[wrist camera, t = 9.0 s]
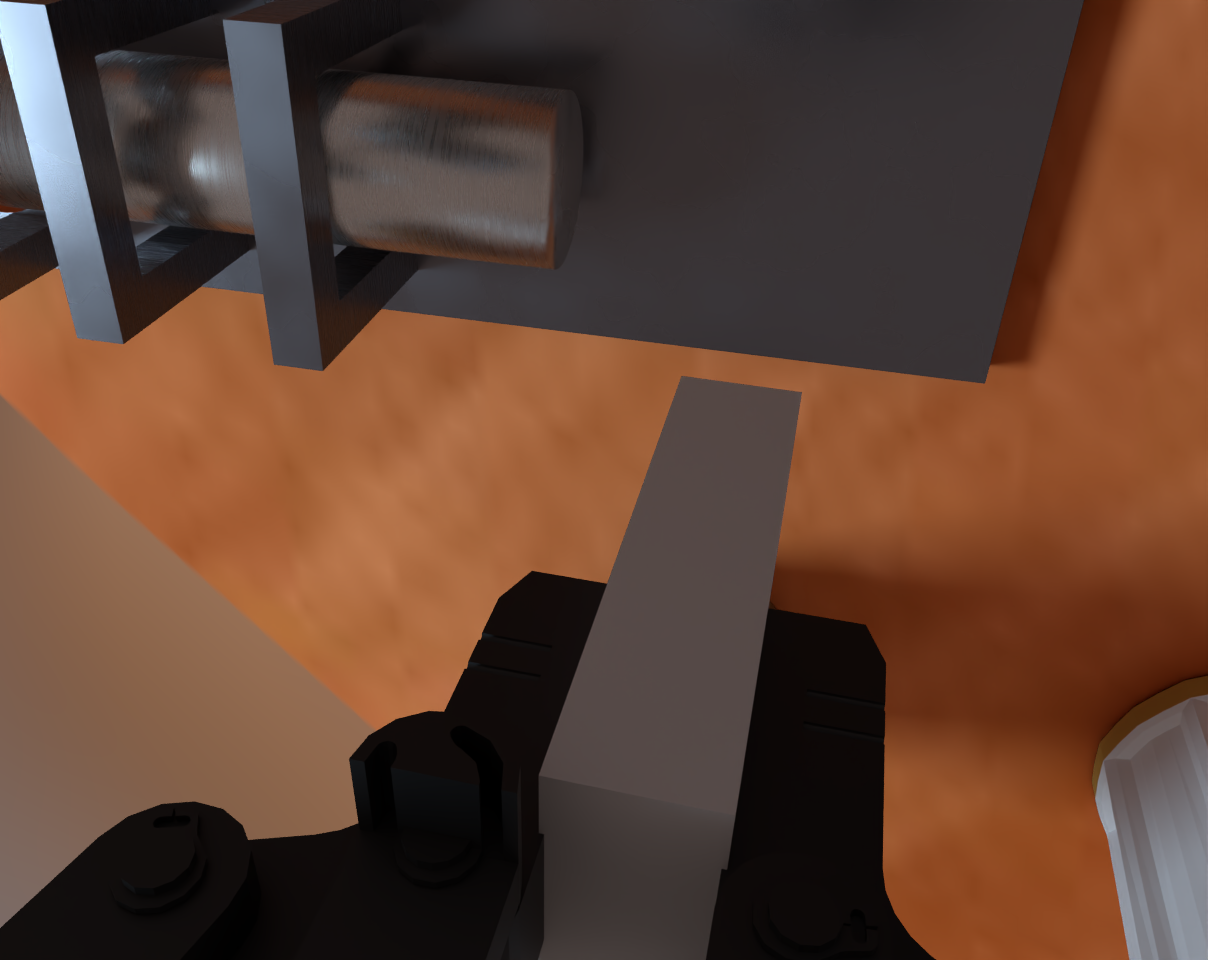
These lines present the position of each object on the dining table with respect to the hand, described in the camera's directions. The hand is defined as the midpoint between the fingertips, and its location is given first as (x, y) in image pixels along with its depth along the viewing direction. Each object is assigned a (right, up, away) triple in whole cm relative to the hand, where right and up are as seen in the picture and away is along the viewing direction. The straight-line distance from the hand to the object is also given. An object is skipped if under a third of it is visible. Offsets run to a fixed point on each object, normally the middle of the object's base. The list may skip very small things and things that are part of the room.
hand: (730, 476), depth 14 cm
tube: (-10, +9, +14) cm, 19 cm away
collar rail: (-6, +9, +14) cm, 18 cm away
